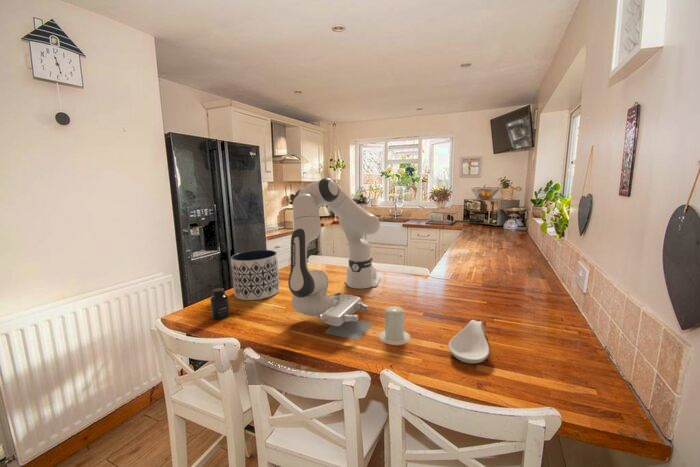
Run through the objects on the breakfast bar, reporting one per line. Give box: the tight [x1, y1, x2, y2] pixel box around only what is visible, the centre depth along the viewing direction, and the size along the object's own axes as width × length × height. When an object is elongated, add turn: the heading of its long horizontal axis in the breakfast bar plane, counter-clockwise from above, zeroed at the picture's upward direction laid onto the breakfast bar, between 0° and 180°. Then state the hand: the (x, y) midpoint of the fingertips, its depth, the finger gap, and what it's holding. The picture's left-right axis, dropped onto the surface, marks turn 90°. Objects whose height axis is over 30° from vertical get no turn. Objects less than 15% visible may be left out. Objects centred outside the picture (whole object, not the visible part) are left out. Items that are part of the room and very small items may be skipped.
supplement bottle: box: [209, 287, 230, 320], centre depth 129 cm, size 7×7×12 cm
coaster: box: [378, 330, 412, 346], centre depth 108 cm, size 11×11×1 cm
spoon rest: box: [448, 319, 490, 365], centre depth 99 cm, size 24×12×7 cm, turn 149°
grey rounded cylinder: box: [384, 305, 405, 342], centre depth 107 cm, size 6×6×10 cm
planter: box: [230, 249, 280, 301], centre depth 156 cm, size 22×22×20 cm
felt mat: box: [323, 319, 373, 341], centre depth 115 cm, size 14×14×1 cm
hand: (362, 313), depth 112 cm, fingers open, 8 cm apart
